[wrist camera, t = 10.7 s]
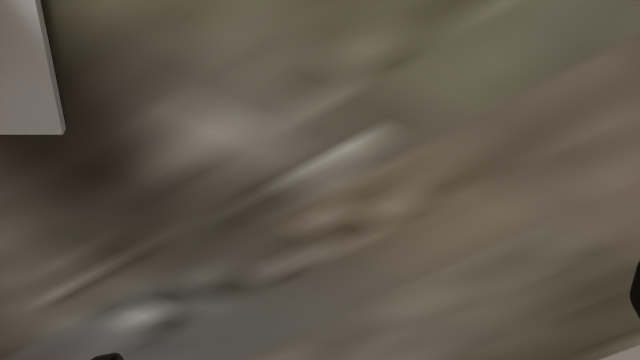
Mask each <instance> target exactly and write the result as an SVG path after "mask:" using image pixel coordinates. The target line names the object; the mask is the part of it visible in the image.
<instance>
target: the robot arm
mask: <svg viewBox="0 0 640 360" xmlns="http://www.w3.org/2000/svg"><path fill="white" fill-rule="evenodd" d="M630 299H631V303H632V305H633V307H634V309H635V311H636V313H637V315H638V316H639V318H640V261H639V263H638V265H637V268H636V272H635V275H634V279H633V282H632V286H631V289H630ZM91 360H124V359H123V358H122V356H121V355H120V354H119V353H111V354H106V355H100V356H96V357H94V358H93V359H91Z"/></svg>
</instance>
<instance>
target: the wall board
mask: <svg viewBox="0 0 640 360" xmlns="http://www.w3.org/2000/svg"><path fill="white" fill-rule="evenodd" d="M65 130H66V126H65V121H64V116H63V111H62V106H61V101H60V96H59V91H58V86H57V81H56V76H55V71H54V66H53V61H52V56H51V51H50V46H49V41H48V36H47V31H46V26H45V21H44V16H43V11H42V6H41V1H40V0H0V135H63V133H64V131H65Z"/></svg>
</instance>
